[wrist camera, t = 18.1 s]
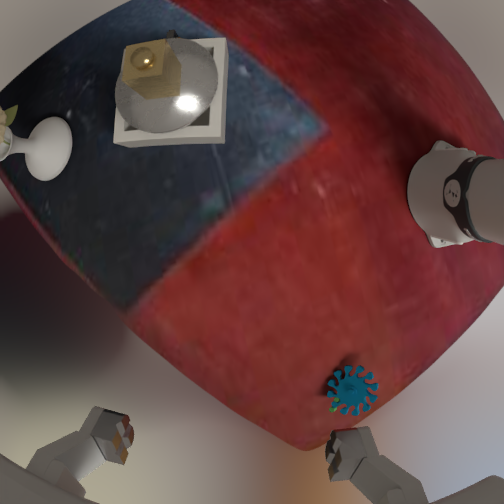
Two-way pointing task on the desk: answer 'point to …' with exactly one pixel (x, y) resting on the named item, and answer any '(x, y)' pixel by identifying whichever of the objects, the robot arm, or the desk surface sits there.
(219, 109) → the base
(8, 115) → the flower in vase
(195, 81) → the scale pan
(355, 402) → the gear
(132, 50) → the brass weight
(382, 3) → the desk surface
